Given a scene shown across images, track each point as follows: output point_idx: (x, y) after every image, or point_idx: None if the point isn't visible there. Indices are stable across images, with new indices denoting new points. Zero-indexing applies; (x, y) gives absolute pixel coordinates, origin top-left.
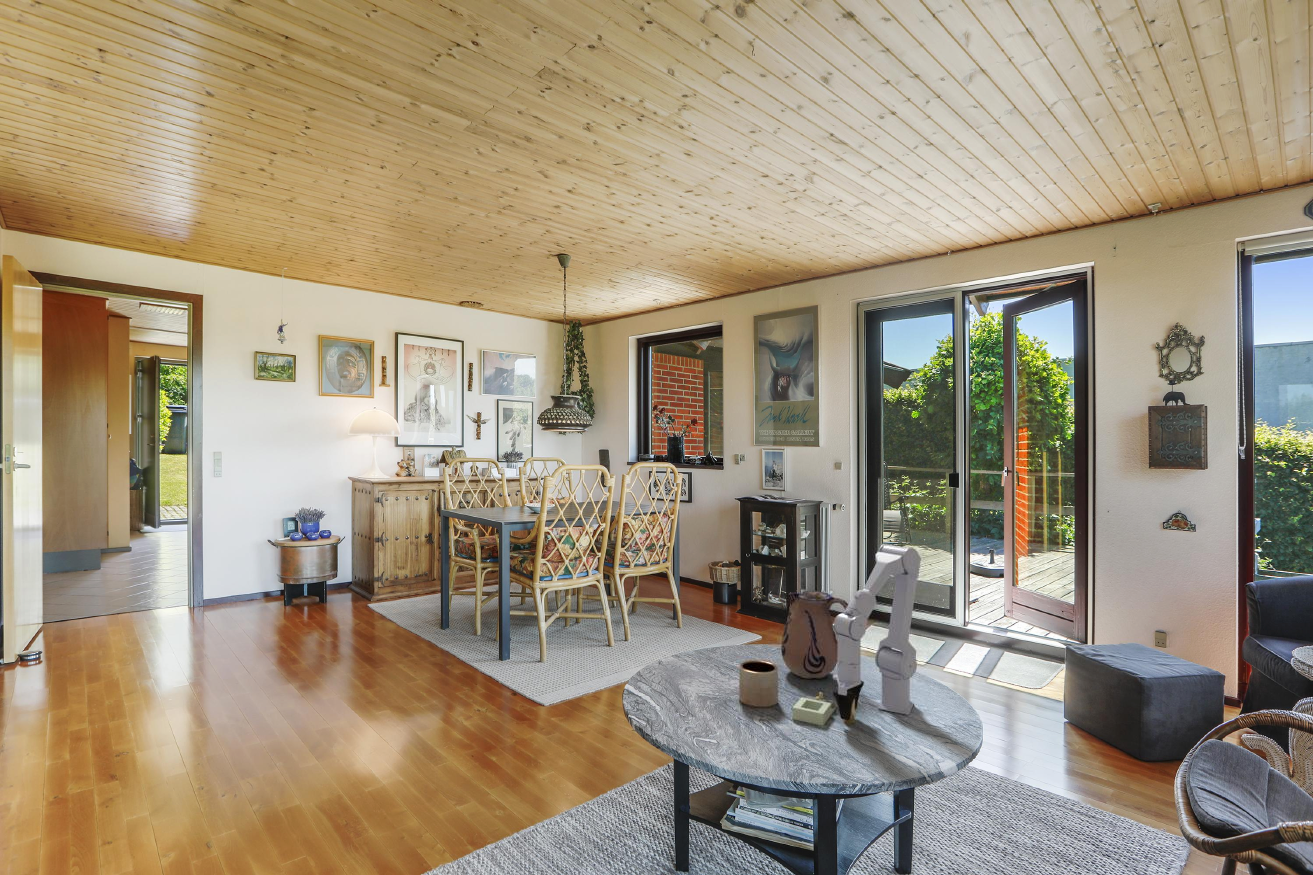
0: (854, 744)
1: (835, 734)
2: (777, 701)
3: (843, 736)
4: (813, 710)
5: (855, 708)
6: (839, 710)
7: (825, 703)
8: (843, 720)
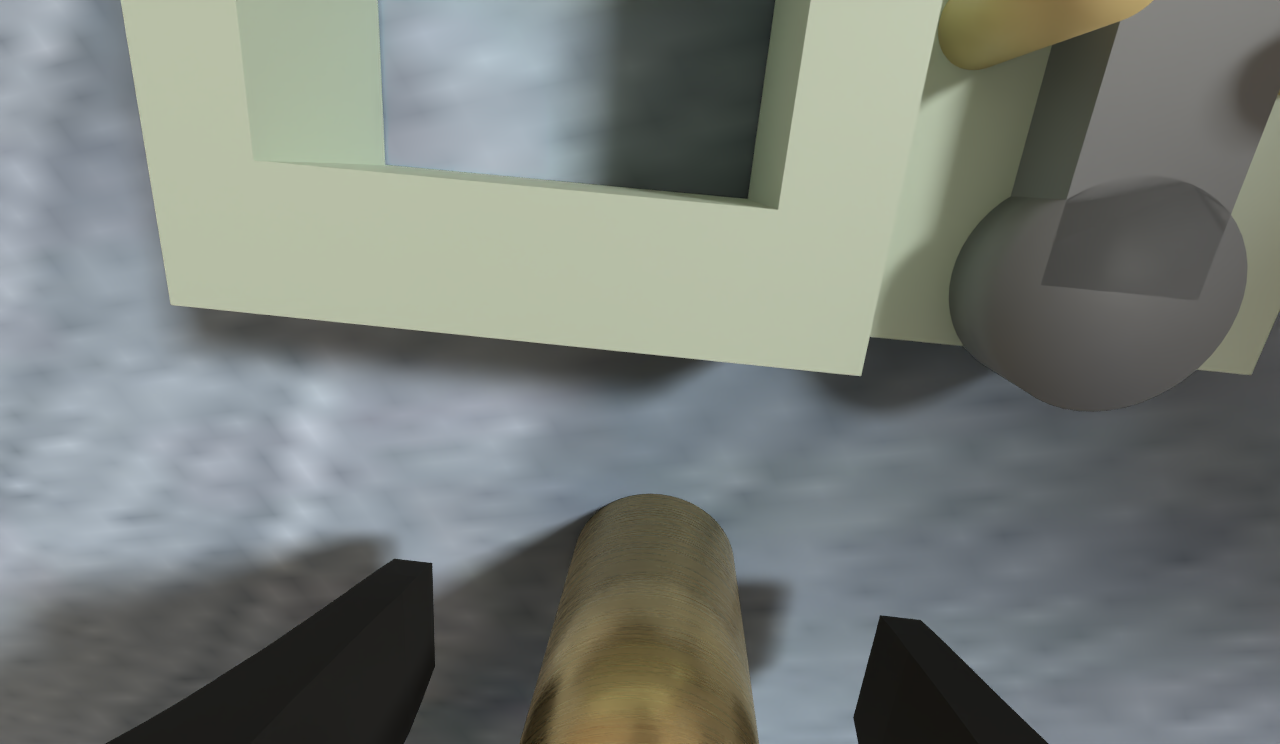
0: (62, 660)
1: (160, 458)
2: None
3: (171, 547)
4: (216, 47)
5: (862, 740)
6: (274, 643)
7: (802, 251)
8: (600, 520)
